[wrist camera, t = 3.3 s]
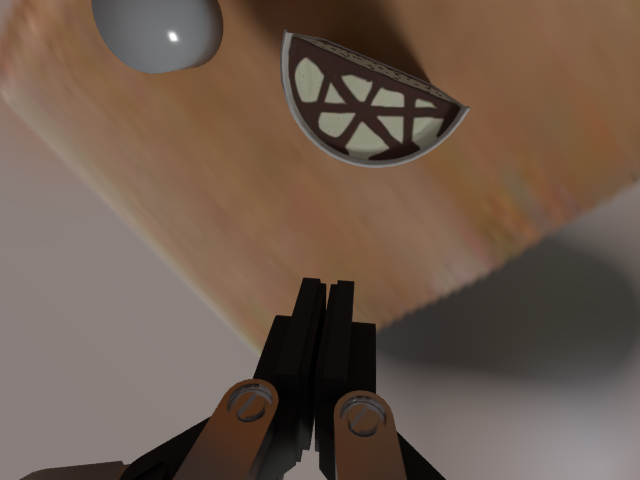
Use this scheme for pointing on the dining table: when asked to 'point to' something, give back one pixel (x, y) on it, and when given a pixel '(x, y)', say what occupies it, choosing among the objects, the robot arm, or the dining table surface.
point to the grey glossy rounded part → (160, 32)
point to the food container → (362, 104)
